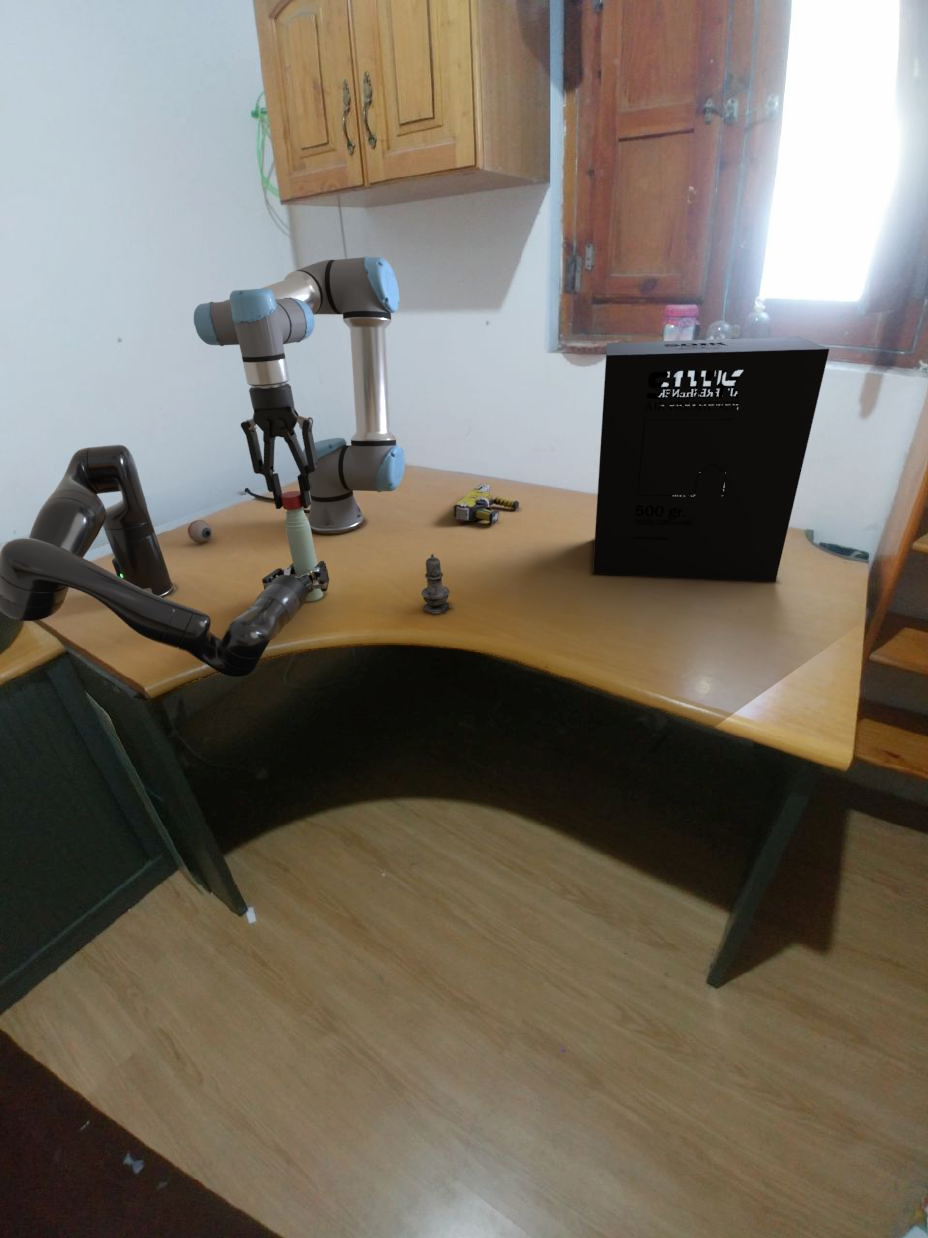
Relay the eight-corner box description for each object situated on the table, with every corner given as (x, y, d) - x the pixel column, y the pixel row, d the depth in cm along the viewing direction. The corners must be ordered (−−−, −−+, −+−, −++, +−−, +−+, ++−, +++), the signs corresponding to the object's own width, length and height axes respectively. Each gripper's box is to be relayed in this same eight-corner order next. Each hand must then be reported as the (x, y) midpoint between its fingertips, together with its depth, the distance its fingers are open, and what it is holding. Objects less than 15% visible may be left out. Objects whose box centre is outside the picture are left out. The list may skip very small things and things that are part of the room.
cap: (306, 502, 124) (304, 490, 122) (301, 509, 120) (298, 497, 119) (286, 503, 124) (284, 491, 123) (280, 510, 120) (278, 497, 119)
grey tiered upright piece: (447, 614, 122) (443, 560, 116) (419, 613, 123) (413, 559, 117) (453, 601, 127) (450, 548, 121) (426, 599, 128) (421, 547, 122)
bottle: (319, 601, 130) (299, 500, 119) (297, 601, 130) (275, 500, 119) (326, 591, 134) (307, 492, 123) (305, 591, 135) (284, 492, 123)
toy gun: (527, 488, 179) (479, 481, 183) (505, 513, 159) (452, 504, 162) (525, 503, 181) (478, 496, 185) (503, 529, 161) (451, 520, 165)
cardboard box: (755, 543, 144) (798, 336, 121) (775, 581, 127) (829, 348, 104) (594, 538, 151) (606, 342, 129) (592, 573, 134) (606, 355, 112)
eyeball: (201, 547, 160) (195, 526, 157) (186, 543, 163) (180, 522, 160) (220, 539, 164) (214, 518, 161) (205, 536, 167) (199, 515, 164)
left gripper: (249, 617, 120) (283, 579, 134) (318, 619, 118) (345, 580, 132) (241, 583, 116) (276, 548, 131) (311, 585, 114) (340, 548, 128)
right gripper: (322, 379, 113) (341, 499, 124) (230, 383, 114) (258, 501, 126) (310, 386, 106) (332, 511, 118) (213, 390, 108) (243, 513, 120)
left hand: (311, 564), depth 131 cm, fingers closed on bottle, 5 cm apart
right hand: (293, 506), depth 122 cm, fingers open, 5 cm apart
